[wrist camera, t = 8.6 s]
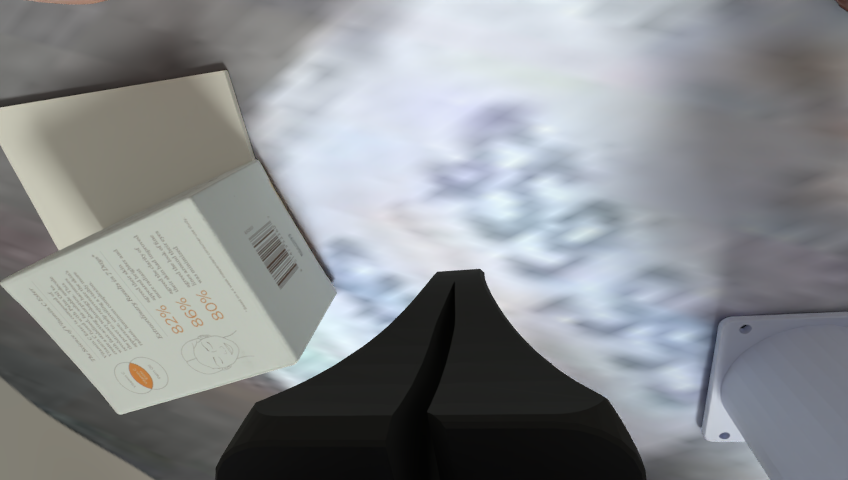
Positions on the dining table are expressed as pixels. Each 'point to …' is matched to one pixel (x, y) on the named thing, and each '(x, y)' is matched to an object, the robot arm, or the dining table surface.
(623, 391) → the dining table surface
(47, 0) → the decorative fruit
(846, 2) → the supplement bottle
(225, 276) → the small box
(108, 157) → the mat
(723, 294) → the dining table surface
